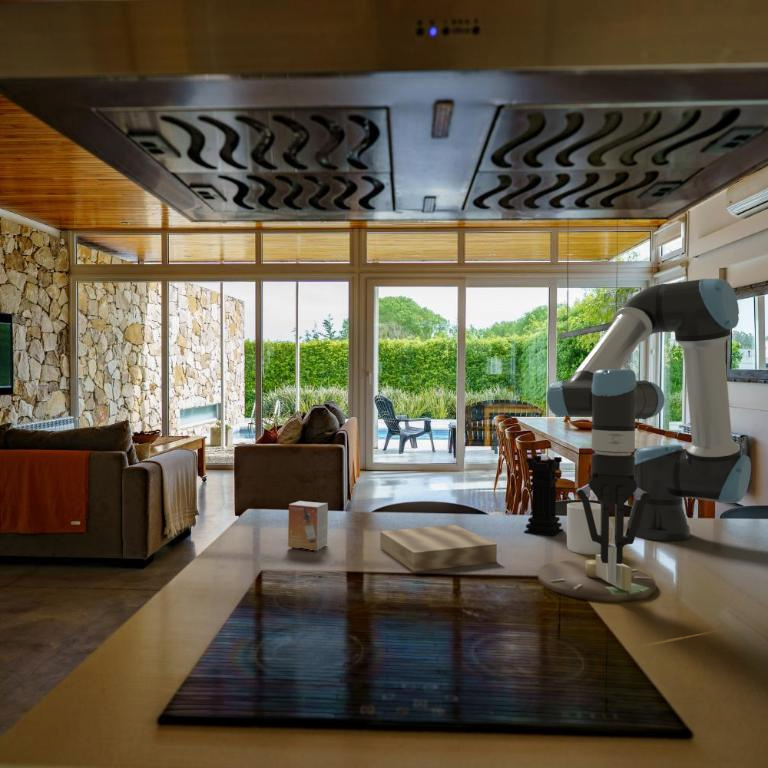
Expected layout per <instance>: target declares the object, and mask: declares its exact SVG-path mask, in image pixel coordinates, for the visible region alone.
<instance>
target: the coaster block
mask: <svg viewBox="0 0 768 768" xmlns="http://www.w3.org/2000/svg"><path fill="white" fill-rule="evenodd" d="M379 533H380V536H379V538H380V539H379V541H380V543H379V545H380V546H379V548H380V549H381V550H383V551H384V552H385V553H387V554H388V555H390V557H392V558H394V559H395V560H396V561H398V562H400V563H401V564H402V565H404V567H406V568H408V569H409V570H411V571H412V572H414V573H415V572H422V571H423V572H424V571H431V570H441V569H448V568H457V567H466V566H475V565H483V564H485V565H486V564H493V563H497V561H498V560H497V559H498V557H497V553H498V552H497V551H498V550H497V548H498V547H497V543H495V542H494V541H493V542H492V541H491V540H489V539H487V538H484V537H482V536H480V535H478V534H476V533H474V532H471V531H470V530H467V529H465V528H463V527H461V526H459V525H456V524H449V525H448V524H447V525H437V526H426V527H425V526H424V527H414V528H413V527H412V528H402V529H391V530H380V532H379Z"/></svg>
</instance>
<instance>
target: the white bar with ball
mask: <svg viewBox="0 0 768 768" xmlns="http://www.w3.org/2000/svg"><path fill="white" fill-rule="evenodd" d="M600 555H601V554H595V559H587V560H585V561H586V575H587V576H589V577H594V578H602V579H604V580H606V581H607V579H606V564H607V563H602V561H601V558H600ZM607 582H608V581H607ZM611 584H613V585H615V586H616V587H618V588H620V589H623V590H625V591H629V590H631V567H630V566H628V564H627V565H626V564H624V563H622V564H616V583H611Z"/></svg>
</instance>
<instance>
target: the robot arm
mask: <svg viewBox="0 0 768 768" xmlns="http://www.w3.org/2000/svg"><path fill="white" fill-rule="evenodd" d="M739 315H740V309H739V302H738V298H737V296H736V292H735V290H734V288H733V286H732V285H731V284H730V283H729V282H728V281H727V280H725V279H724V278H701V279H692V280H688V281H687V280H685V281H679V282H672V283H670V282H669V283H659V284H655V285H652V286H649V287H647V288H645V289H643V290H641V291H639V292H638V293H636V294H634V295H633V296H631V297H630V298H629V299H627V300H626V301H625V302H624V303H623V304H622V305H621V306H619V308H618V309H617V311H616V312H615V313H614V314H613V315H612V319H611V324H610V326H609V328H607V330H606V331H605V333H604V334H603V335H602V337H601V338H600V339H599V340H598V341H597V343H596V344H595V346H593V348H592V350H591V351H590V352H589V353H588V355H586V356H585V359H584V360H583V361H582V362H581V363H580V365H579V366H578V367H577V368H576V370H575V371H574V373H573V374H572V375H571V376H570V377H569V379H568V380H565V379H562V380H555V381H553V382H551V384H550V385H549V387H548V389H547V392H546V402H547V405H548V409H549V411H550V412H551V413H553V414H554V415H556V416H565V417H569V418H570V417H574V418H575V417H582V418H589V417H590V418H591V420H592V421H591V422H592V423H591V446H590V447H591V450H592V451H594V452H593V453H592V454H591V455H590V456H591V459H590V460H591V462H590V463H591V465H590V478H589V479H588V481H587V484H586V485H583V486H582V487H577V489H575V492H576V495H577V497H578V498H579V499H580V502H582V503H583V507H584V511H585V516H586V520H587V524H588V528H589V532H590V536H591V539H592V541H593V542H597V543H599V544H600V545H601V555H600V558H601V561H602V563H607V564H606V579H607V581H608V583H616V564H623V559H624V558H623V557H624V556H623V555H624V554H623V553H624V552H623V551H624V547H625V546H627V545H633V544H634V542H635V538H636V537H637V538H641V539H647V540H653V541H664V542H675V541H676V542H677V541H678V542H681V541H685V540H688V539H689V540H690V538H691V528H690V526H689V525H688V521H687V518H686V513H685V511H684V507H683V505H684V504H683V498H686V499H694V500H701V501H702V500H703V501H708V502H716V503H719V504H720V503H721V504H722V503H726V504H727V503H728V504H729V503H730V504H737V503H739V502H741V501H742V500H743V499H744V497H745V495H746V493H747V492H748V488H749V483H750V479H751V471H752V462H751V458H750V456H748V455H745V454H741V446H740V444H739V443H737V442H735V441H734V439H733V436H732V435H733V433H732V426H731V425H732V423H731V413H730V411H731V410H730V402H729V401H730V400H729V389H728V387H729V386H728V378H727V377H728V376H727V364H726V352H725V342H726V341H727V340H728V339H729V338H730V337H731V335H732V333H731V330H733V329H735V328H736V327H737V326H738V324H739V320H740V318H739ZM658 333H674V339H675V342H676V343H677V344H679V345H680V346H681V347H682V349H683V358H684V359H683V360H684V370H685V381H686V391H687V400H688V412H689V421H690V433H691V434H690V435H691V442H690V443H689V444H688V445H686V448H685V449H684V447H683V445H682V444H666V445H664V444H663V445H652V446H642V447H639V448H637V449H636V445H635V444H636V420H648V419H650V418H653V417H655V416H657V415H658V414H659V413H660V412H662V410H663V408H664V406H665V394H664V392H663V390H662V389H661V387H660V386H659V385H658V384H656V383H655V382H652V381H648V380H645V379H643V380H639V379H638V380H637V377H636V376H637V375H636V372H635V371H634V370H632V369H622V368H623V366H624V365H625V364H626V363H627V361H628V359H629V358H630V357H631V356H632V354H633V352H634V351H635V350H636V348H637V347H638V346H639V344H640V343H642V342H645V341H646V340H648V338H650V336H651V335H653V334H658ZM632 453H634V454H632ZM591 491H592V493H593V494H594V495H595V497H596V498H597V500H598V501H599V502H600V504H601V530H600V535H598V534H597V530H596V526H595V522H594V518H593V514H592V510H591V505H590V503H591V502H590V500H589V498H591ZM632 495H633V504H632V507H631V510H630V514H629V519H628V520H627V521H626V531H625V530H624V522H625V520H624V519H625V518H624V517H625V516H624V515H625V503H626V502H627V501H628V500H629V499H630V498H631V497H632ZM611 504H614V531H615V537H614V543H613V544H609V542H610V538H609V537H610V527H609V520H610V505H611ZM624 531H625V535H624Z"/></svg>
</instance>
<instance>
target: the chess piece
mask: <svg viewBox="0 0 768 768" xmlns="http://www.w3.org/2000/svg"><path fill="white" fill-rule="evenodd" d="M562 459H563V458H562V456H554V457H553V458H549V459H548V458H547V459H546V460H542V455H533V457H526V460H525V461H526V464H528V471H531V472H532V473H531V475H532V476H531V478H530V483H531V485H532V486H531V487H532V489H531V491H532V492H531V508H532V509H531V510H532V511H531V513H532V514H531V516H530V517H529V518H527V521H528V523H527V524H526V525H525V528H526V530H524V531H523V533H524V534H529V535H530V534H531V535H538V536H543V537H544V536H545V537H552V538H555V537H556V536H558V535H559V534H560V533H562V532H563V531H564V528H561V527H562V522H559V521H560V519H561V518H560V517H559V516H556V515H557V514H556V510H557V509H556V508H557V507H556V506H557V503H556V502H557V497H556V496H557V494H556V492H557V490H556V489H557V483H558V482H559V481H558V480H559V479H558V478H557V476H556V475H557V473H556V472H557V471H559V470H560V469H561V467H560V466H561V464H560V463H562Z"/></svg>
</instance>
